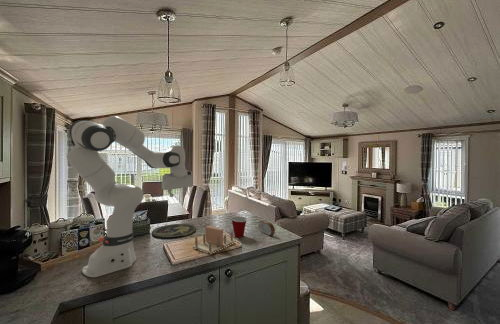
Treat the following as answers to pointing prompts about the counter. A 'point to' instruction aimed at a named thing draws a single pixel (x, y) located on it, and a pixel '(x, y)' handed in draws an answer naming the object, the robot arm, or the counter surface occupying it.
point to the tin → (266, 228)
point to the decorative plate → (173, 231)
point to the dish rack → (212, 247)
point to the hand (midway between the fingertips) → (178, 195)
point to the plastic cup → (239, 225)
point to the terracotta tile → (214, 235)
